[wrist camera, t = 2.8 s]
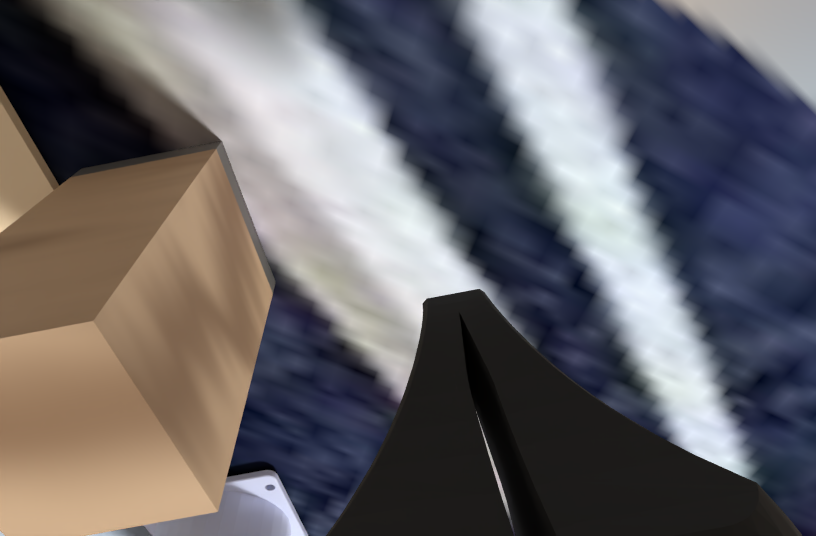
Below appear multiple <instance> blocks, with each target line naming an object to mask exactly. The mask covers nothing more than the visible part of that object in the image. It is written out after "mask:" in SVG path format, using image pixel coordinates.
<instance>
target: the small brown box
mask: <svg viewBox="0 0 816 536" xmlns="http://www.w3.org/2000/svg"><path fill="white" fill-rule="evenodd" d="M275 283H276V282H275V279H274V277H273V274H272V271H271V269H270V266H269V264H268V261H267V258H266V256H265V253H264V250H263V248H262V245H261V243H260V240H259V237H258V235H257V232H256V229H255V227H254V224H253V222H252V219H251V216H250V214H249V211H248V208H247V206H246V203H245V201H244V198H243V195H242V193H241V190H240V188H239V185H238V182H237V180H236V177H235V174H234V172H233V169H232V167H231V164H230V161H229V159H228V156H227V153H226V151H225V148H224V146H223V143H222V141H219V142H214V143H209V144H204V145H199V146H194V147H189V148H184V149H179V150H174V151H168V152H163V153H158V154H153V155H148V156H143V157H138V158H133V159H128V160H123V161H118V162H113V163H108V164H102V165H97V166H92V167H87V168H82V169H80V170H79V171H78V172H77V173H75V174H74V175H73V176H71V177H70V178H69V179H68V180H66V181H65V182H64V183H63V184H61V185H60V186H59V187H58V188H56V189H55V190H54V191H53V192H51V193H50V194H49V195H47V196H46V197H45V198H44V199H42V200H41V201H40V202H39V203H37V204H36V205H35V206H34V207H32V208H31V209H30V210H29V211H27V212H26V213H25V214H23V215H22V216H21V217H20V218H18V219H17V220H16V221H15V222H13V223H12V224H11V225H10V226H8V227H7V228H6V229H5V230H3V231H2V232H1V233H0V531H1V532H2V533H3V534H4V535H5V536H86V535H92V534H98V533H103V532H109V531H114V530H120V529H125V528H131V527H136V526H142V525H148V524H153V523H159V522H164V521H170V520H175V519H181V518H187V517H192V516H198V515H203V514H209V513H214V512H218V510H219V506H220V502H221V498H222V494H223V490H224V486H225V482H226V478H227V474H228V470H229V466H230V462H231V458H232V454H233V450H234V446H235V442H236V438H237V434H238V430H239V426H240V422H241V418H242V414H243V410H244V406H245V402H246V398H247V394H248V390H249V386H250V382H251V378H252V374H253V370H254V366H255V362H256V358H257V354H258V350H259V346H260V342H261V338H262V334H263V330H264V326H265V323H266V319H267V315H268V311H269V307H270V303H271V299H272V295H273V291H274V287H275Z"/></svg>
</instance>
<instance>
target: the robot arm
mask: <svg viewBox="0 0 816 536" xmlns="http://www.w3.org/2000/svg"><path fill="white" fill-rule="evenodd" d="M476 412H477V413H476ZM477 415H478V417H477ZM478 418H479V420H478ZM479 421H480V424H481V426H482V429H483V432H484V435H485V438H486V441H487V444H488V447H489V449H490V452H491V455H492V458H493V461H494V464H495V467H496V469H497V472H498V475H499V478H500V481H501V484H502V487H503V490H504V494H505V497H506V500H507V504H508V508H509V512H510V516H511V520H512V524H513V528H514V532H515V536H802V535H801V533H800V532H799V531H798V529H797V528H796V527H795V525H794V524H793V523H792V522H791V520H790V519H789V518H788V517H787V516H786V515H785V513H784V512H783V511H782V510H781V509H780V508H779V507H778V505H777V504H776V503H775V502H774V501H773V500H772V499H771V498H770V497H769V496H768V495H767V494H766V493H765V492H764V491H763V489H762V488H761V487H760V486H759V485H758V484H757V483H756V482H753V481H751V480H749V479H747V478H745V477H742V476H740V475H738V474H736V473H733V472H731V471H729V470H727V469H725V468H722V467H720V466H718V465H716V464H714V463H711V462H709V461H707V460H705V459H702V458H700V457H698V456H696V455H694V454H692V453H690V452H688V451H686V450H684V449H682V448H680V447H678V446H676V445H674V444H672V443H670V442H668V441H667V440H665V439H663V438H661V437H659V436H657V435H655V434H654V433H652V432H650V431H649V430H647V429H645V428H644V427H642V426H640V425H639V424H637V423H635V422H634V421H632V420H630V419H629V418H627V417H625V416H623V415H622V414H620V413H618V412H617V411H615V410H614V409H612V408H611V407H609V406H608V405H606V404H605V403H603V402H602V401H600V400H599V399H597V398H596V397H595V396H593V395H592V394H590V393H589V392H588V391H586V390H585V389H583V388H582V387H581V386H579V385H578V384H577V383H575V382H574V381H573V380H572V379H570V378H569V377H568V376H566V375H565V374H564V373H563V372H562V371H560V370H559V369H558V368H557V367H556V366H554V365H553V364H552V363H551V362H550V361H549V360H547V359H546V358H545V357H544V356H543V355H542V354H541V353H540V352H538V351H537V350H536V349H535V348H534V347H533V346H532V345H531V344H530V343H529V342H528V341H527V340H526V339H525V338H524V337H523V336H522V335H521V334H520V333H519V332H518V331H517V330H516V329H515V328H514V327H513V326H512V325H511V324H510V323H509V322H508V321H507V320H506V318H505V317H504V316H503V315H502V314H501V313H500V312H499V310H498V309H497V308H496V307H495V306H494V304H493V303H492V302H491V301H490V299H489V298H488V297H487V295H486V294H485V292H483V291H482V290H480V289H476V290H471V291H466V292H460V293H455V294H450V295H444V296H439V297H434V298H428V299H426V300H425V302H424V303H423V321H422V328H421V334H420V340H419V344H418V348H417V352H416V357H415V361H414V364H413V368H412V371H411V374H410V377H409V380H408V383H407V386H406V390H405V393H404V395H403V398H402V401H401V403H400V406H399V408H398V411H397V413H396V416H395V418H394V420H393V423H392V425H391V427H390V429H389V432H388V434H387V436H386V438H385V440H384V442H383V444H382V446H381V448H380V450H379V452H378V454H377V456H376V458H375V459H374V461H373V463H372V465H371V467H370V469H369V470H368V472H367V474H366V475H365V477H364V479H363V480H362V482H361V484H360V485H359V487H358V489H357V490H356V492H355V493H354V495H353V497H352V498H351V500H350V502H349V503H348V505H347V507H346V508H345V510H344V511H343V513H342V514H341V516H340V517H339V519H338V520H337V521H336V523H335V524H334V526H333V527H332V528H331V530H330V531H329V532H328V534H327V535H326V536H514V535H513V532H512V528H511V525H510V522H509V519H508V516H507V513H506V510H505V507H504V503H503V500H502V497H501V494H500V491H499V488H498V484H497V481H496V478H495V474H494V471H493V468H492V465H491V461H490V458H489V455H488V451H487V448H486V444H485V441H484V437H483V434H482V431H481V427H480V424H479ZM144 527H145V528H146V529H147V530H148V531H149V533H150V534H151V535H152V536H308V534H307V532H306V530H305V528H304V526H303V524H302V522H301V520H300V518H299V516H298V514H297V512H296V510H295V508H294V506H293V504H292V502H291V500H290V498H289V496H288V494H287V492H286V490H285V488H284V486H283V484H282V483H281V481H280V479H279V477H278V475H277V473H276V472H274V471H272V470H263V471H257V472H252V473H246V474H241V475H235V476H230V477H227V478H226V482H225V486H224V490H223V494H222V498H221V502H220V506H219V510H218V512H214V513H209V514H203V515H198V516H192V517H187V518H181V519H175V520H170V521H164V522H159V523H153V524H148V525H144Z"/></svg>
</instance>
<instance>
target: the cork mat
mask: <svg viewBox="0 0 816 536" xmlns="http://www.w3.org/2000/svg"><path fill="white" fill-rule="evenodd" d="M58 187H59V184H58V183H57V181H56V179H55V178H54V176H53V174H52V172H51V171H50V169H49V167H48V166H47V164H46V162H45V161H44V159H43V157H42V156H41V154H40V152H39V150H38V149H37V147H36V145H35V144H34V142H33V140H32V139H31V137H30V135H29V133H28V132H27V130H26V128H25V127H24V125H23V123H22V122H21V120H20V118H19V117H18V115H17V113H16V111H15V110H14V108H13V106H12V105H11V103H10V101H9V100H8V98H7V96H6V95H5V93H4V91H3V89H2V88H1V86H0V233H1V232H2V231H3V230H5V229H6V228H7V227H8V226H10V225H11V224H12V223H13V222H15V221H16V220H17V219H18V218H20V217H21V216H22V215H23V214H25V213H26V212H27V211H29V210H30V209H31V208H32V207H34V206H35V205H36V204H37V203H39V202H40V201H41V200H42V199H44V198H45V197H46V196H47V195H49V194H50V193H51V192H53V191H54V190H55V189H56V188H58Z"/></svg>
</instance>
